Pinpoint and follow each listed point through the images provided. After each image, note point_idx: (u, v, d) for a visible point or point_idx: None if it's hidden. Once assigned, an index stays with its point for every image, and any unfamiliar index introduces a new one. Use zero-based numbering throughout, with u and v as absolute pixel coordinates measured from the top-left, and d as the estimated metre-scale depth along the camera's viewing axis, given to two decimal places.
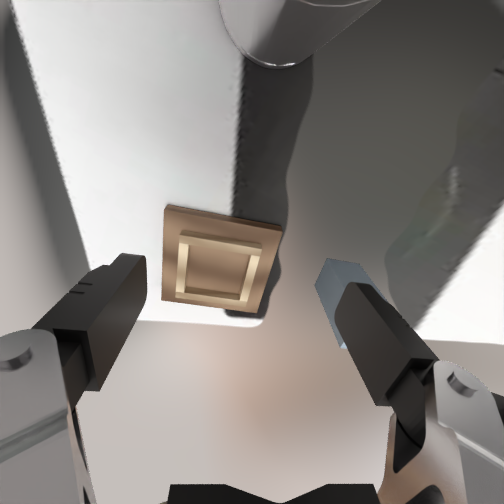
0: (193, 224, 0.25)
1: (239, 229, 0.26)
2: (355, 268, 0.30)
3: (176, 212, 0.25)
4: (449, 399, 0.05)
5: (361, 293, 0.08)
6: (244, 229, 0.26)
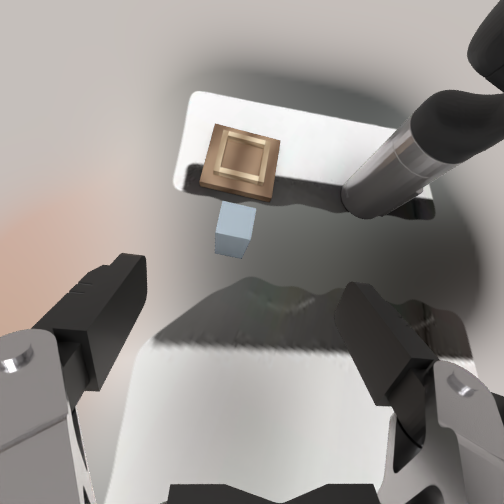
0: (272, 152, 0.45)
1: (271, 174, 0.43)
2: None
3: (279, 145, 0.46)
4: (449, 399, 0.05)
5: (361, 293, 0.08)
6: (271, 177, 0.43)
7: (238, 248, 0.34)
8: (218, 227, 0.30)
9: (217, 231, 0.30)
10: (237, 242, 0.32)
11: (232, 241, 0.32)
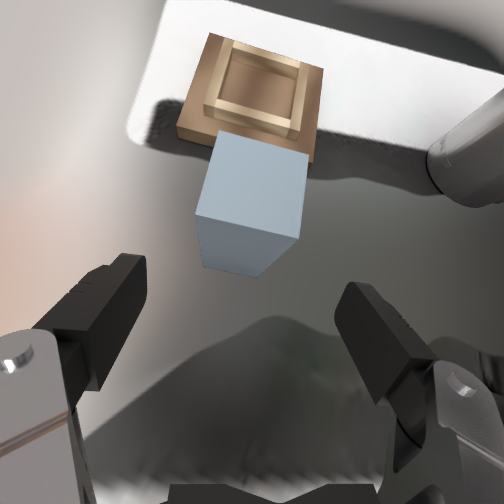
0: (311, 85, 0.25)
1: (310, 122, 0.24)
2: None
3: (321, 76, 0.26)
4: (449, 399, 0.05)
5: (361, 293, 0.08)
6: (311, 126, 0.24)
7: (256, 259, 0.15)
8: (204, 200, 0.10)
9: (201, 211, 0.10)
10: (255, 246, 0.12)
11: (243, 242, 0.12)
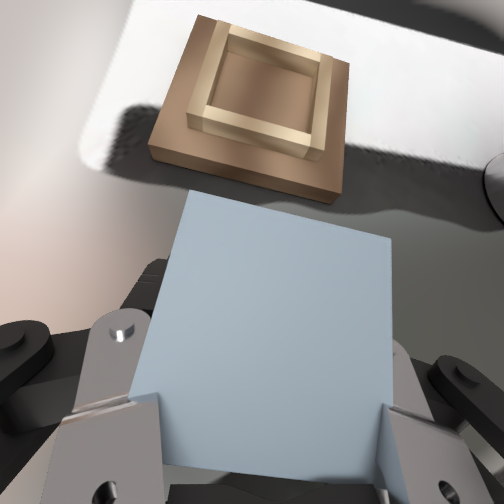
0: (335, 85, 0.19)
1: (336, 135, 0.17)
2: None
3: (347, 73, 0.20)
4: None
5: None
6: (337, 142, 0.17)
7: None
8: None
9: None
10: None
11: None
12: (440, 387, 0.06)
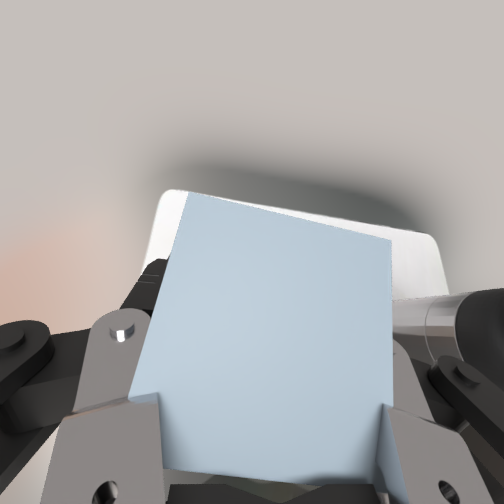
0: None
1: None
2: None
3: None
4: None
5: None
6: None
7: None
8: None
9: None
10: None
11: None
12: (441, 387, 0.06)
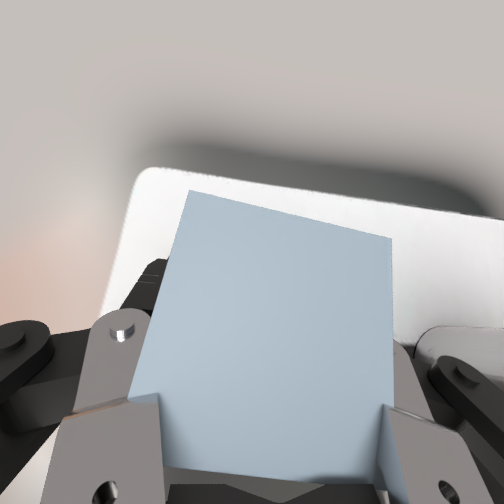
0: None
1: None
2: None
3: None
4: None
5: None
6: None
7: None
8: None
9: None
10: None
11: None
12: (440, 387, 0.06)
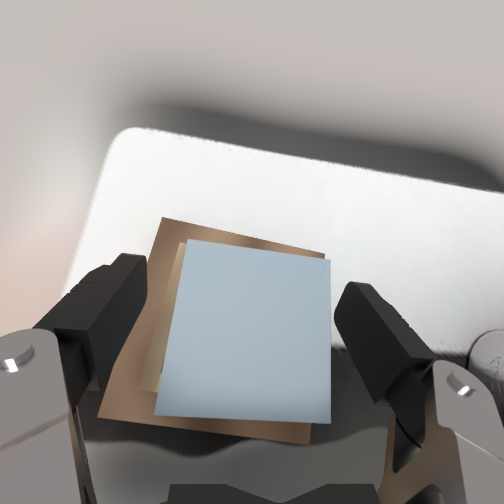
0: None
1: None
2: None
3: None
4: (448, 398, 0.05)
5: (361, 293, 0.08)
6: None
7: None
8: (169, 381, 0.06)
9: (164, 406, 0.06)
10: None
11: None
12: None
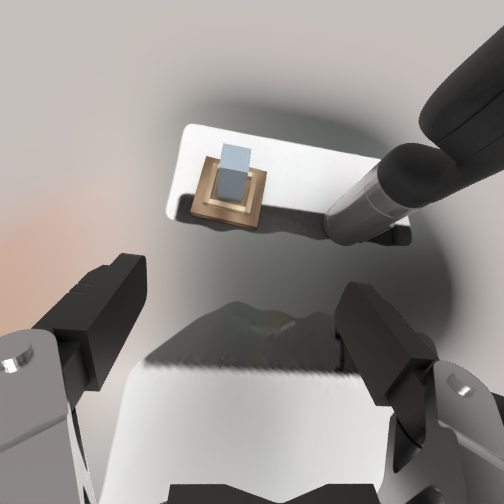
0: (259, 183, 0.48)
1: (257, 204, 0.47)
2: None
3: (265, 176, 0.49)
4: (449, 399, 0.05)
5: (361, 293, 0.08)
6: (257, 207, 0.47)
7: (238, 187, 0.41)
8: (221, 163, 0.36)
9: (220, 166, 0.36)
10: (237, 179, 0.39)
11: (233, 177, 0.38)
12: None
